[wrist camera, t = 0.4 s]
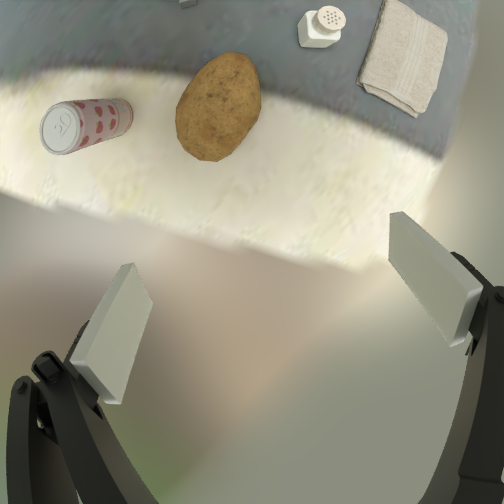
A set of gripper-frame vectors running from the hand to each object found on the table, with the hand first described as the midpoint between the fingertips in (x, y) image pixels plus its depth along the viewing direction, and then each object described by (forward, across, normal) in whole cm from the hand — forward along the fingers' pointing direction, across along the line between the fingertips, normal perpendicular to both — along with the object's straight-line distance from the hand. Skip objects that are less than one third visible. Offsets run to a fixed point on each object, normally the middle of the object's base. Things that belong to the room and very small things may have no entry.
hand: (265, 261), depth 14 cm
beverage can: (+28, -17, +11) cm, 35 cm away
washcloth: (+29, +26, +13) cm, 41 cm away
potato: (+28, -2, +8) cm, 29 cm away
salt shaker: (+28, +12, +16) cm, 35 cm away
